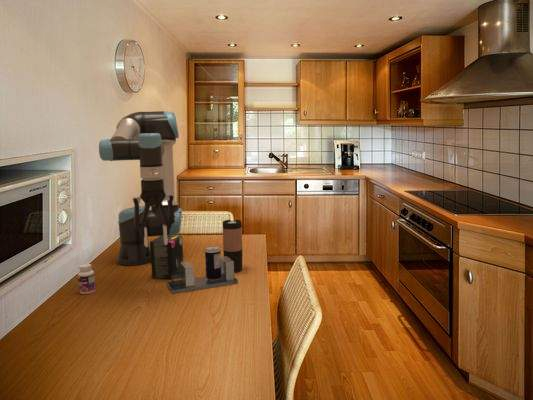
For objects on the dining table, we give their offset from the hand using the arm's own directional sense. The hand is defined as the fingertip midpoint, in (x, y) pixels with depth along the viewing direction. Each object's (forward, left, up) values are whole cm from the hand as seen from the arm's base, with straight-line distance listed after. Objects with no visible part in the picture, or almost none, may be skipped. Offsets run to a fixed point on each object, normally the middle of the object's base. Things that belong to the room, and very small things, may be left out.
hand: (155, 244), depth 162 cm
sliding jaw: (0, +9, -16) cm, 18 cm away
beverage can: (0, +21, -16) cm, 26 cm away
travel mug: (-11, +32, -17) cm, 38 cm away
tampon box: (-17, +7, -17) cm, 25 cm away
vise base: (0, +16, -17) cm, 23 cm away
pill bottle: (-11, -23, -17) cm, 31 cm away
